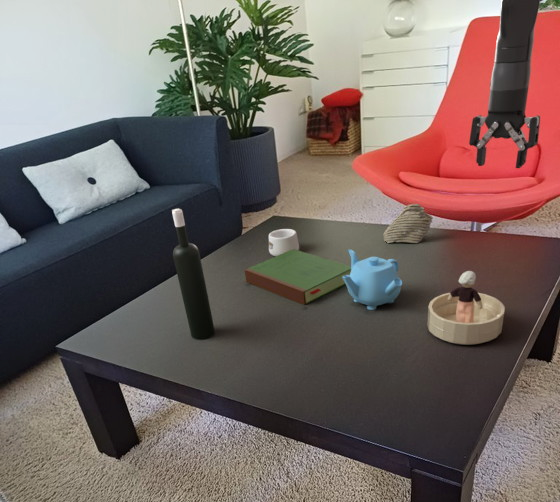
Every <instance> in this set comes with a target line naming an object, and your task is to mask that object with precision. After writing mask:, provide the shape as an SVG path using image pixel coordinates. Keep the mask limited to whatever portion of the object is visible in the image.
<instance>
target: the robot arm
mask: <svg viewBox="0 0 560 502" xmlns="http://www.w3.org/2000/svg"><path fill="white" fill-rule="evenodd" d="M543 1H544V0H501V2H500V3H501V5H500V18H499V31H498V34H497V39H496V43H495V44H496V45H495V53H494V60H493V62H494V63H493V67H492V72H491V79H490V83H489V87H490V88H489V98H488V107H487V115H486V116H482V115H481V114H479V115H477V116H474V117H473V118H472V121H471V127H470V136H469V142H468V144H469V146H470V147H471V146H472V147H475V148H476V158H475V159H476V160H475V161H476V164H477V166H479V167H483V166H485V165H486V156H487V145H488V143H489V142H490V141H491V140H492V139H505V140H508V139H511V140H512V141H513V143H515V144H516V146H517V148H518V150H517V154H516V162H515V169H521V168H522V167H523V166H524V165H525V164H526V162H527V154H528V150H529V149H532V148H534V147H536V146H537V145H538V143H539V135H540V134H539V133H540V125H541V116H540V115H538V114H537V115H534V116H528V117H527V115H526V109H527V101H528V95H529V94H528V93H529V89H530V88H529V87H530V81H531V74H532V56H533V49H534V42H535V28H536V23H537V19H538V14H539V10H540V3H541V2H543ZM484 124H485V126H486V128H487V130H486V132H485V133H484V135H483V136H482V137H481V139H480V136H481V129H482V127H483V126H484ZM524 125H526V127H527V128H528V129H529V130H528V140H527V139H526V136H525V135H526V134H525V133H524V132H523V130H522V128H523V126H524Z"/></svg>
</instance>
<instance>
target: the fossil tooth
mask: <svg viewBox="0 0 560 502" xmlns="http://www.w3.org/2000/svg"><path fill="white" fill-rule="evenodd" d="M433 219H434V217H433V216H432V215H430V214H429V213H428V212H426V211H425V207H424V206H421V204H419V203H413V204H408V205H405V206H404V208H403V209H402V210H401V212H400V213H398V215H397V216H396V217H395V219H393V221H392V222H391V223H390V224H389V226H387V228H386V229H385V231H384V232H383V240H384V242H385V241H386V242H387V243H386V242H385V243H386V244H390V243H408V244H409V243H410V244H419V243H421V242H422V240H423V239H424V238H425V236H426V235H427V234H428V233H429V231H430V229H431V224H432V223H433Z"/></svg>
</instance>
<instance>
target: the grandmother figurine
mask: <svg viewBox="0 0 560 502" xmlns="http://www.w3.org/2000/svg"><path fill="white" fill-rule="evenodd" d="M476 275H477V274H476V273H475V271H472V270H467V271H464V272H463V273H462V274H461V275H460V276H459V279H458V280H457V281H458V283H459V284H460V285H461V286H458V287H455V288H454V289H453V290H451V291H450V292H449V293H450V295H449V297H448V300H449V301H452V299H453V298H454V297H459V299H458V303H457V310H456V321H457V322H462V323H474V300H475V301H476V303H477V305H478V309H482V308H483V306H482V302H481V298H480V296H479V294H478V293H479V292H478V291H477V290H476V289H475V288H473V287H474V285H475V283H476V279H477V277H476ZM473 298H474V300H473Z"/></svg>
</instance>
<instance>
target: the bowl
mask: <svg viewBox="0 0 560 502" xmlns="http://www.w3.org/2000/svg"><path fill="white" fill-rule="evenodd" d="M478 294H479V296H480V298H481V302H482V306H483V308H482V309H478V305H477V303H476V301H475V300H474V298H473V300H474V323H462V322H457V321H456V310H457V303H458V299H459V297H454V298H453V299H452V301H449V300H448V297H449V295H450V292H446V293H443V294H440V295H438V296H435V297H434V298H433V299H432V300H430V302H429V304H428V307H427V328H428V331H429V332H430V333H431V334H432V335H433V336H434V337H436V338H439V340H442V341H445V342H448V343H451V344H455V345H465V346H468V345H469V346H470V345H471V346H472V345H480V344H483V343H486V342H487V343H488V342H491V341H492V340H494V339H497V338H498V337H499V336H500V334H501V333H502V331H503V323H504V316H505V312H506V311H505V310H506V307H505V305H504V304H503V302H502V301H500V300H499V299H498V298H497V297H495V296H491V295H489V294H486V293H482V292H478Z"/></svg>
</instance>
